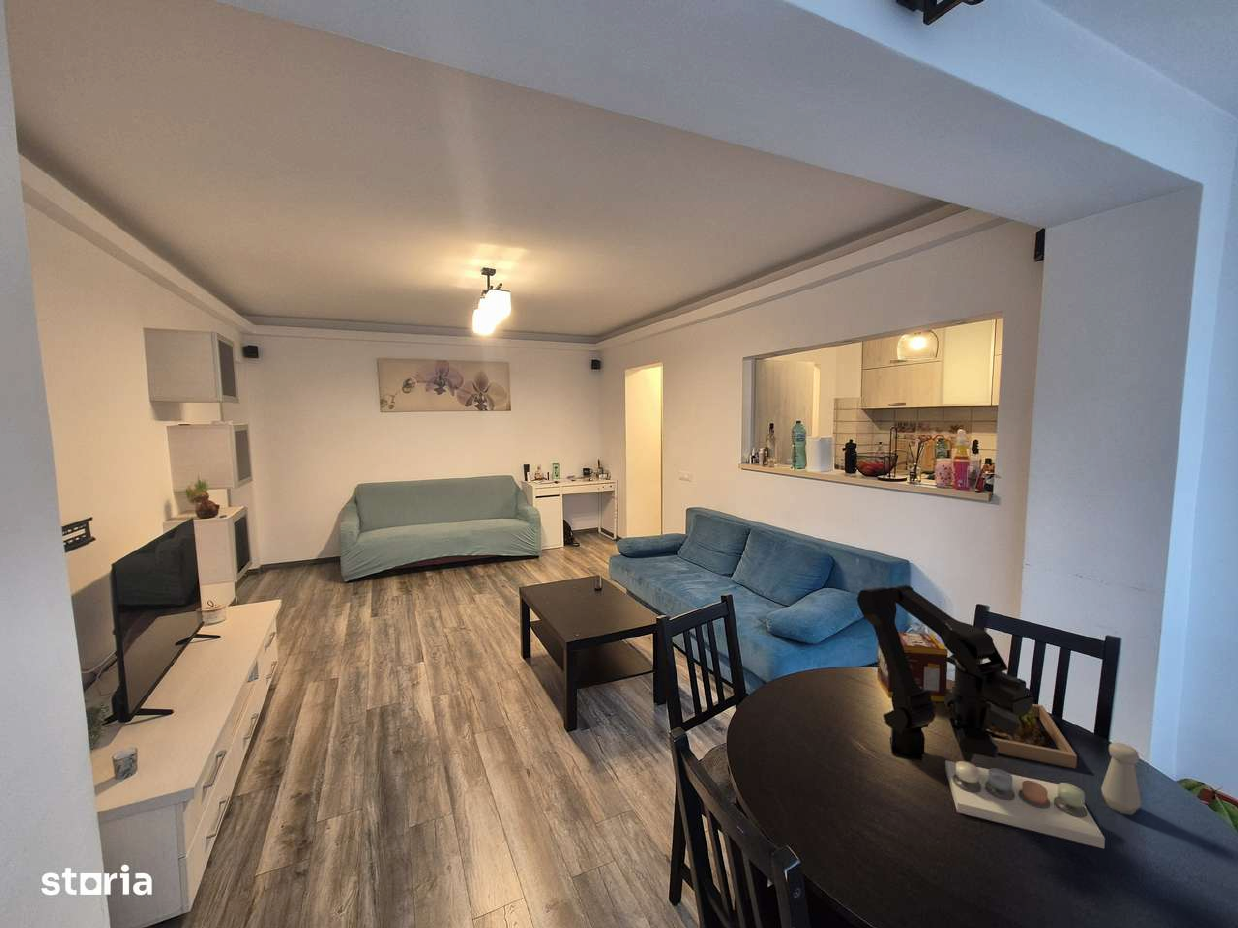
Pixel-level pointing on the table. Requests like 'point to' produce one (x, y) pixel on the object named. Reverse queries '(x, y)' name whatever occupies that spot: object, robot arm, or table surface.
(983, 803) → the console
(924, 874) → the table surface
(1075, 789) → the sage button
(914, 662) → the supplement box
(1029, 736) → the cactus
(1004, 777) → the slate button
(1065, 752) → the planter tray
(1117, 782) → the salt shaker
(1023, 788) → the terracotta button
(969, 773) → the ivory button
